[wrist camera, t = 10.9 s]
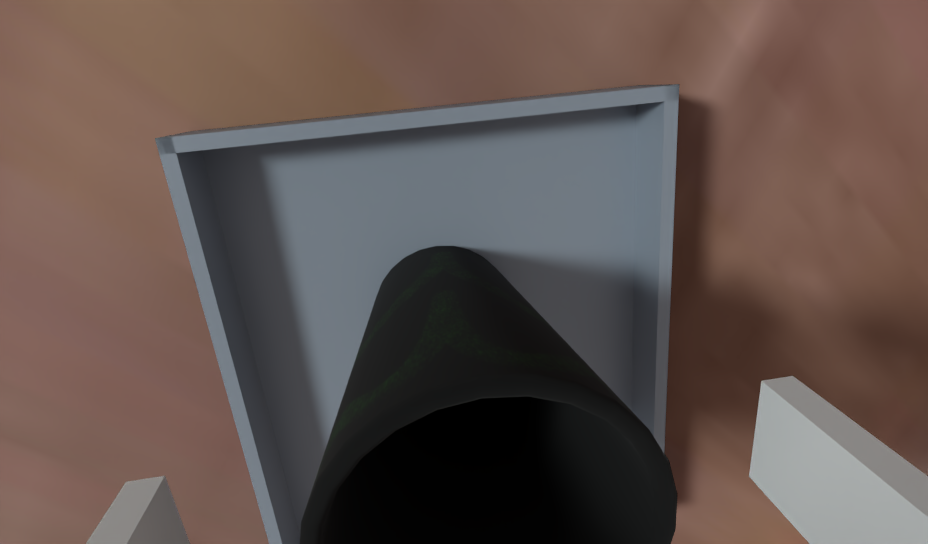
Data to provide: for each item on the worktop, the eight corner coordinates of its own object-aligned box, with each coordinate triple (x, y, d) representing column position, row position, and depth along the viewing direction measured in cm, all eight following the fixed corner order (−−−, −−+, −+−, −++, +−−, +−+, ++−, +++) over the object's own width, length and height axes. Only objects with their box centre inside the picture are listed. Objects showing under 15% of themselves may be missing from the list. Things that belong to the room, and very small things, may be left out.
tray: (190, 131, 19) (155, 138, 16) (640, 85, 21) (679, 84, 18) (299, 551, 26) (287, 607, 23) (633, 494, 27) (660, 540, 24)
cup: (420, 180, 20) (455, 302, 9) (570, 285, 22) (753, 490, 11) (311, 335, 21) (221, 612, 10) (462, 419, 24) (525, 721, 12)
